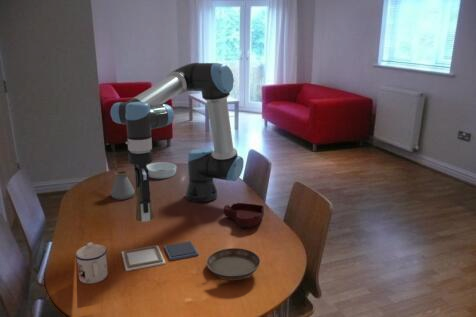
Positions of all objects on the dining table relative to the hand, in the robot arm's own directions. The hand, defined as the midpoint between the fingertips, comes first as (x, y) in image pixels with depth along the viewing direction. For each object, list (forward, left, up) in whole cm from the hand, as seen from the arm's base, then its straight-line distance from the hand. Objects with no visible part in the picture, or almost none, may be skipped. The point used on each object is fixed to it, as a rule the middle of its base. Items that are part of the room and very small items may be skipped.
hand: (144, 217), depth 138 cm
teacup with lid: (+18, +7, -16) cm, 25 cm away
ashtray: (-45, -18, -16) cm, 51 cm away
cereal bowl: (-22, -87, -16) cm, 91 cm away
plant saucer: (-26, +17, -16) cm, 35 cm away
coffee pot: (+2, -68, -16) cm, 70 cm away
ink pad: (-12, 0, -15) cm, 20 cm away
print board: (+1, 0, -15) cm, 15 cm away
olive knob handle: (0, 0, 0) cm, 1 cm away
